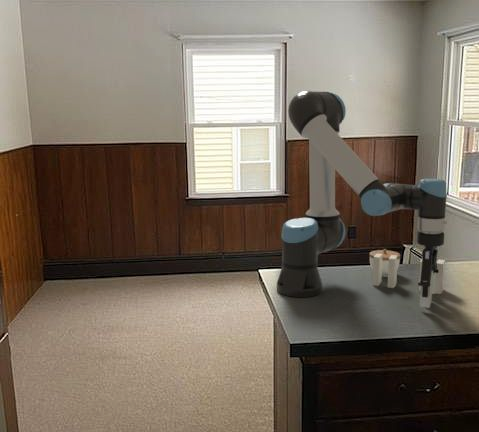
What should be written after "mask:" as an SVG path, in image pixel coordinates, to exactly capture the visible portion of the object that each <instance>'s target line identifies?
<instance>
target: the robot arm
mask: <svg viewBox="0 0 479 432" xmlns="http://www.w3.org/2000/svg"><path fill="white" fill-rule="evenodd" d="M346 111H347V109H346V105H345V103H344V101H343V99H342V98H341V97H340V96H339V95H338V94H336V93H333V92H330V91H314V90H313V91H311V90H305V91H300V92H298V93H297V94H296V95H294V96H293V97H292V99H291V100H290V102H289V104H288V109H287V112H288V113H287V114H288V118H289V120H290V123H291V125H293V128H294V129H295V130H296V132H297V133H298V134H299V135H300V136H301V137H302V138H303V139H308V142H309V143H308V151H309V152H308V153H309V154H308V155H309V157H308V160H309V163H308V164H309V165H308V167H309V168H308V169H309V172H308V173H309V209H308V210H307V211H306V212H305V217H298V218H292V219H288V220H287V221H285V222H284V223H283V225H282V228H281V236H280V237H281V269H280V272H279V275H278V278H277V281H276V291H277V292H278V293H279V294H281V295H283V296H287V297H294V298H309V297H314V296H317V295H320V294H322V292H323V282H322V281H323V280H322V277H321V275H320V272H319V269H318V257H319V256H318V255H320V254H322V253H325V252H329V251H333V250H334V249H337V248H338V247H339V246H340V245H341V244H342V243H343V241H345V239H346V234H347V233H346V225H345V223H344V222H343V220H342V219H341V217H340V215H341V214H340V211H339V210H338V209H336V182H335V181H336V172H337V173H338V174H339V175H340V176H341V177H342V179H343V180H344V181H345V182H346V183H347V184H348V185H349V187H351V189H352V190H353V191H354V192H355V194H357V195H358V197H359V198H360V205H361V209H362V211H363V212H364V213H366V214H367V215H369V216H371V217H377V216H384V215H386V214H388V213H391V212H396V211H399V210H412V211H418V212H417V215H418V216H417V228H416V229H418V231H417V237H416V242H417V244H418V245H420V246H424V248H423V250H422V252H421V256H422V257H421V259H422V270H421V280H420V283H419V282H418V283H417V285H418V287H419V286H421V291H419V292H420V293H419V294H420V297H419V307H420V308H427V309H430V307H431V305H430V293H431V286H430V285H431V284H430V282H431V274H432V271H433V286H432V295H436V293H435V285H436V273H438V272H439V270H438V269H437V261H438V260H437V259H438V248H437V247H441V246H443V245H444V244H445V232H444V231H445V225H448V221H447V220H446V211H447V210H446V209H447V206H446V205H447V196H448V194H447V182H446V180H444V179H442V178H441V179H440V178H422V179H420V180H419V184H405V183H396V182H389V183H388V182H387V183H386V182H385V183H383V182H382V181H381V180H380V179H379V178H378V177H377V175H375V173H373V171H372V170H371V168H369V166H368V165H366V163H365V162H364V161H363V160H362V159H361V158H360V157H359V156H358V155H357V153H355V151H354V150H353V149H352V148H351V147H350V146H349V145H348V144H347V142H346V141H345V140H344V139H343V138H342V137H341V136H340V125H341V124H342V122H343V121H344V120H345V118H346ZM423 281H427V282H423Z"/></svg>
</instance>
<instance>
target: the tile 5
mask: <svg viewBox="0 0 479 432" xmlns="http://www.w3.org/2000/svg"><path fill="white" fill-rule="evenodd" d="M445 262H446V260H445V259H438V260H437V269H438V270H439V272H438V273H436V285H435V294H438V295H442V294H443V291H444V280H445Z"/></svg>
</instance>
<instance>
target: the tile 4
mask: <svg viewBox="0 0 479 432" xmlns="http://www.w3.org/2000/svg"><path fill="white" fill-rule="evenodd" d="M421 270H422V258H421V259H420V261H419V277H418V279H419V280H418V283H420V280H421ZM423 282H424V281H423ZM420 291H421V286H418V292H420Z"/></svg>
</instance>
